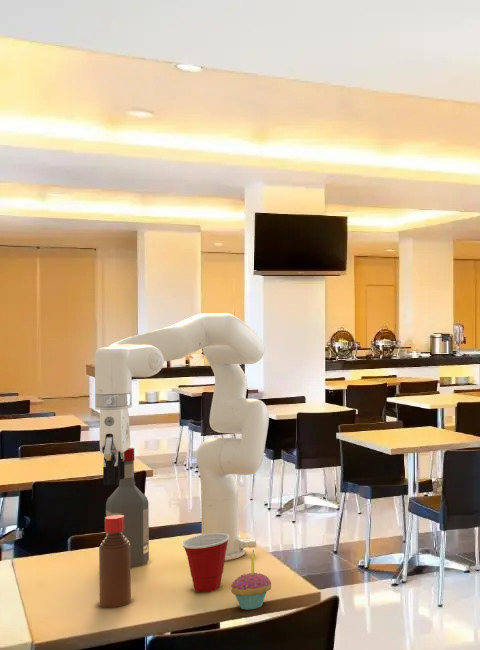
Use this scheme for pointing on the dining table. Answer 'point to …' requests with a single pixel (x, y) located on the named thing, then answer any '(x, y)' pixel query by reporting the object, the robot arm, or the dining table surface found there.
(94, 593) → the dining table surface
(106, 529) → the cap
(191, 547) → the plastic cup
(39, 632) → the dining table surface
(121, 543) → the sauce bottle
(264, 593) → the cupcake
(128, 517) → the liquor
